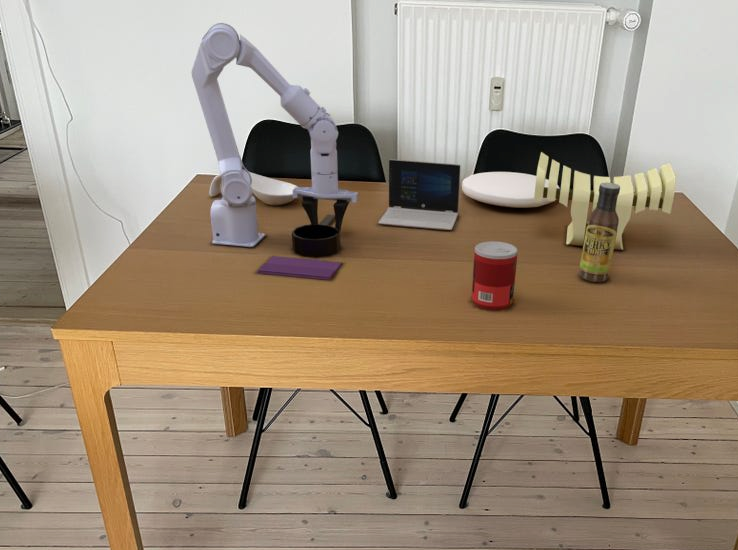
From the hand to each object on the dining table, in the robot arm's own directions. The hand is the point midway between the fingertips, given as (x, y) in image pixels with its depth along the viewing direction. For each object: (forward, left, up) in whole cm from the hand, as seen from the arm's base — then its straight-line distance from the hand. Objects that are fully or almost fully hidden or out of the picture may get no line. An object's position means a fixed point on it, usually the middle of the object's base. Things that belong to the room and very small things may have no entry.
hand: (326, 230), depth 167 cm
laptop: (+18, +17, -2) cm, 25 cm away
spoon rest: (-26, +22, -2) cm, 34 cm away
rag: (0, -19, -2) cm, 20 cm away
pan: (0, -4, -2) cm, 5 cm away
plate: (+40, +41, -2) cm, 57 cm away
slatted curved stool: (+62, +14, -2) cm, 63 cm away
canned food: (+40, -27, -2) cm, 49 cm away
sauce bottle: (+60, -10, -2) cm, 61 cm away
